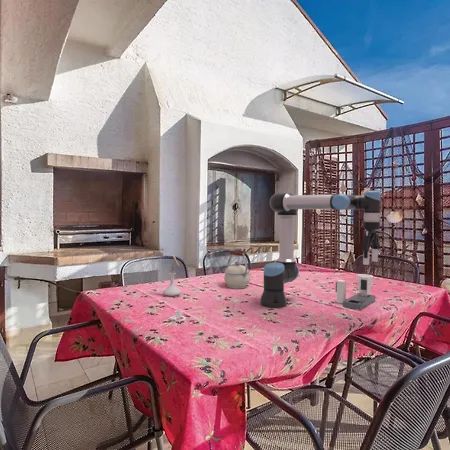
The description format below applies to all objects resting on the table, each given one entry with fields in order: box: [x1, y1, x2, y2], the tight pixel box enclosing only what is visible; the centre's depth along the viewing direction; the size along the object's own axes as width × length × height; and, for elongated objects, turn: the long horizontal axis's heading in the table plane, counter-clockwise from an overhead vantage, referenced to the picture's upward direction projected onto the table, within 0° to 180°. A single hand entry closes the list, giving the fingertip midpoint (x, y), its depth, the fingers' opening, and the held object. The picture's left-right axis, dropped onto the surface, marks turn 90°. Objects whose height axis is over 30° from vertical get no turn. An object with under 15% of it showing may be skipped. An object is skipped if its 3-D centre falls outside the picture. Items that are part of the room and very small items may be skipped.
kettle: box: [223, 250, 251, 290], centre depth 239 cm, size 25×18×25 cm
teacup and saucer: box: [168, 309, 187, 322], centre depth 168 cm, size 9×8×4 cm
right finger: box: [335, 279, 347, 305], centre depth 199 cm, size 5×4×13 cm
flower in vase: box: [162, 254, 182, 297], centre depth 214 cm, size 13×11×25 cm
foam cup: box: [356, 273, 374, 295], centre depth 215 cm, size 10×9×13 cm
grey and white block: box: [342, 277, 376, 311], centre depth 197 cm, size 10×26×14 cm, turn 139°
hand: (370, 263), depth 171 cm, fingers open, 13 cm apart
